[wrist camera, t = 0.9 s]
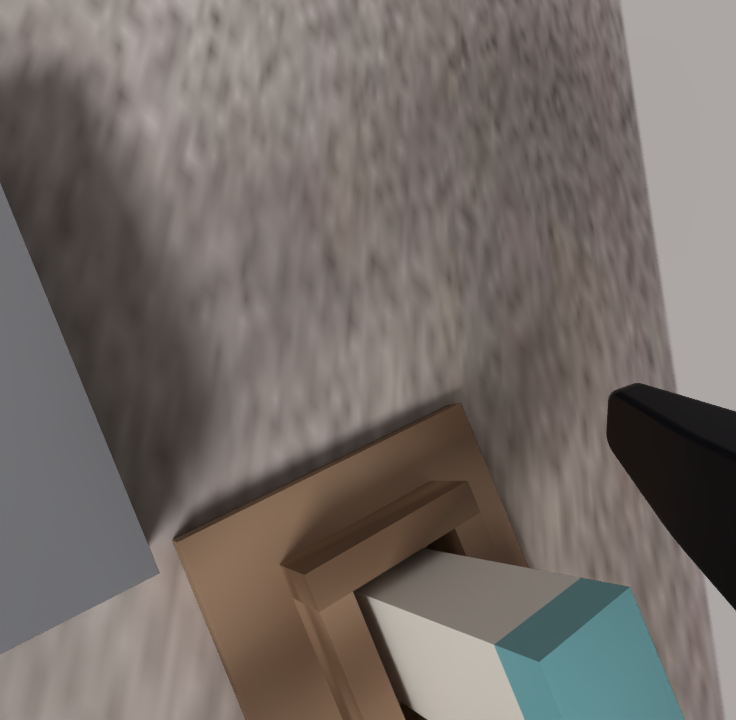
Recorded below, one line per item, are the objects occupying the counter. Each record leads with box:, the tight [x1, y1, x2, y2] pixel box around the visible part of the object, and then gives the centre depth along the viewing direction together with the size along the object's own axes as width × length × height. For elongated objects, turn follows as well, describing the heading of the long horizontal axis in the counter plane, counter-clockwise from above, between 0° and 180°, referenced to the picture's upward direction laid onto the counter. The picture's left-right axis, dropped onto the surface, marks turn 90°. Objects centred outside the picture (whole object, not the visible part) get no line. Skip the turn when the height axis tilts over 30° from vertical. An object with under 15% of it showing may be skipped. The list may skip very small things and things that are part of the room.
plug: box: [353, 548, 685, 720], centre depth 17 cm, size 4×3×10 cm
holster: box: [172, 403, 529, 720], centre depth 21 cm, size 12×12×4 cm
